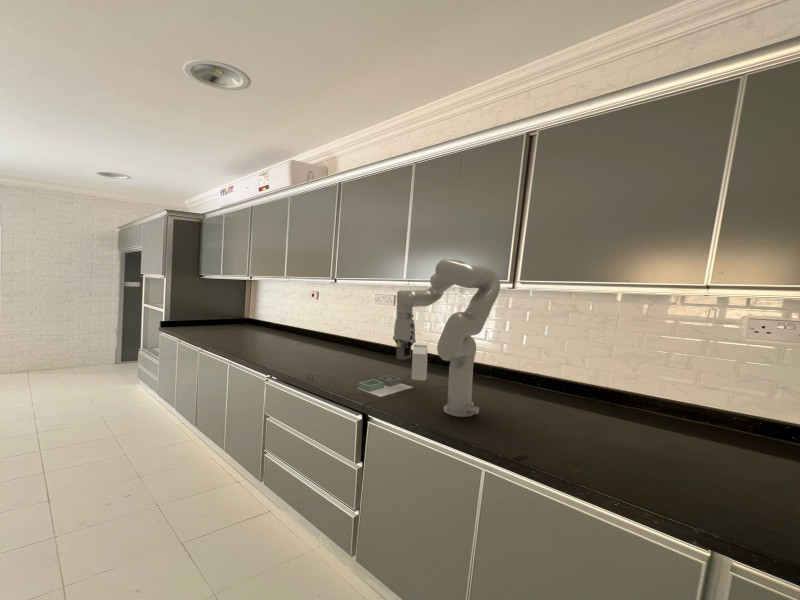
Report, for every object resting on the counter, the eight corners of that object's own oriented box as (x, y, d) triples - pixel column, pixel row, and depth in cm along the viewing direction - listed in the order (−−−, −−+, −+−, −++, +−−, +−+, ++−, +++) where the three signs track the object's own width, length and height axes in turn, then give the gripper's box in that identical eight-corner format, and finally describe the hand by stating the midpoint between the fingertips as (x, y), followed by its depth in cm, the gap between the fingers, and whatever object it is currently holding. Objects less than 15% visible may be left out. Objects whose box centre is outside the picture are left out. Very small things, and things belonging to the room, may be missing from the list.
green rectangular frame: (384, 387, 167) (384, 382, 167) (369, 391, 160) (369, 386, 160) (373, 384, 172) (373, 379, 172) (358, 388, 165) (358, 382, 165)
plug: (411, 358, 167) (411, 341, 167) (401, 359, 162) (401, 342, 162) (404, 356, 170) (405, 340, 170) (395, 358, 165) (395, 341, 165)
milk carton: (424, 382, 182) (426, 346, 181) (411, 381, 184) (412, 345, 183) (426, 379, 189) (427, 344, 188) (413, 377, 191) (414, 343, 190)
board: (413, 389, 170) (413, 382, 170) (380, 399, 154) (380, 391, 154) (389, 382, 181) (390, 375, 181) (356, 390, 165) (357, 383, 165)
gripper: (423, 317, 163) (422, 356, 164) (397, 314, 174) (396, 351, 175) (412, 318, 157) (411, 358, 158) (386, 315, 169) (385, 353, 170)
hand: (403, 354), depth 167 cm, fingers closed on plug, 4 cm apart
